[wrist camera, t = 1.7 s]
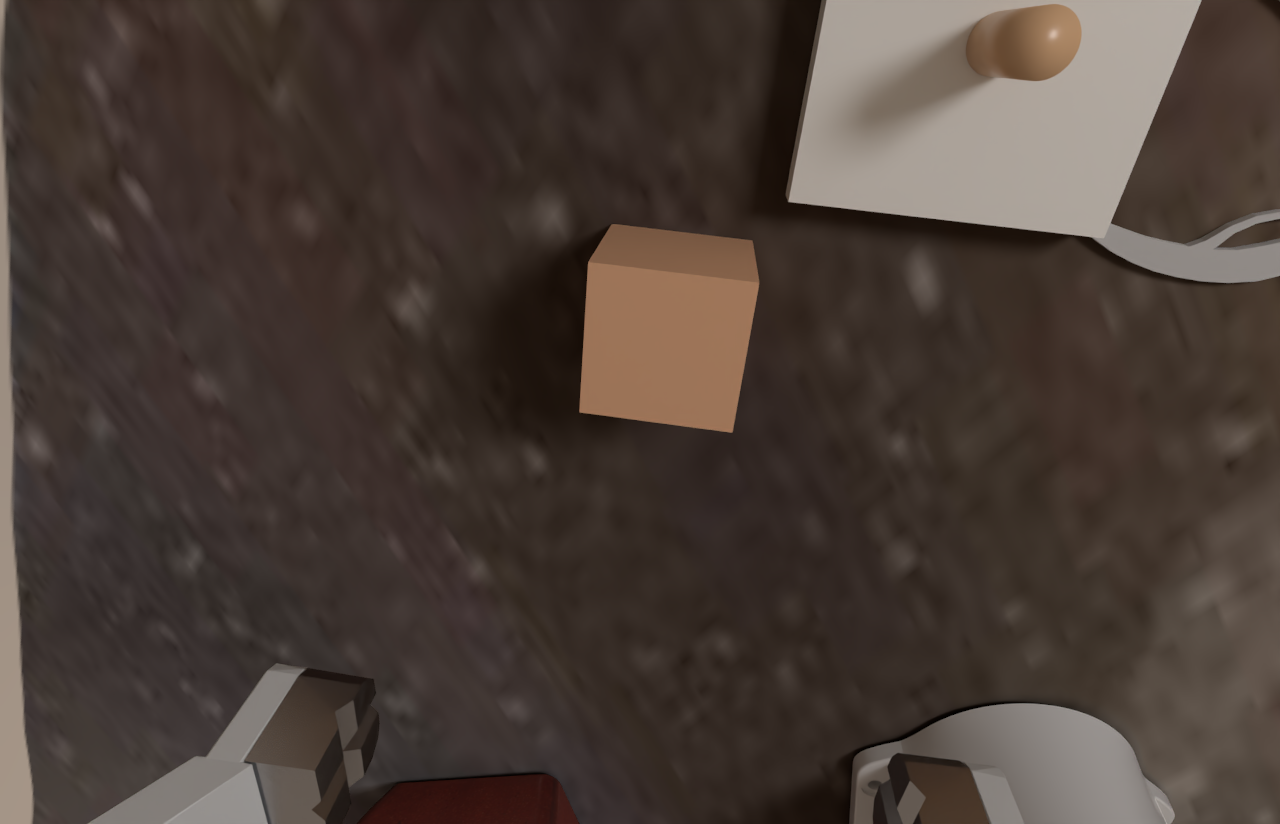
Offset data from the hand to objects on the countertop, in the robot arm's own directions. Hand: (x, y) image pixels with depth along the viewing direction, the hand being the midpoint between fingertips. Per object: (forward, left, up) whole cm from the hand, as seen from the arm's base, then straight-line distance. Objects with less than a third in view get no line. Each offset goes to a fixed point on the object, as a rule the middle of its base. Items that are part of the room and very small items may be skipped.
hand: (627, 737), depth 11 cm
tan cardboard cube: (0, +1, -22) cm, 22 cm away
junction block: (+11, -9, -22) cm, 27 cm away
